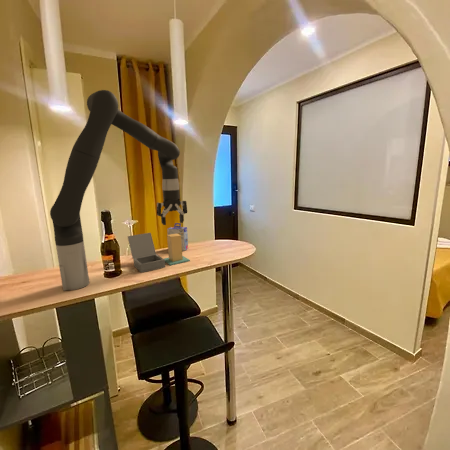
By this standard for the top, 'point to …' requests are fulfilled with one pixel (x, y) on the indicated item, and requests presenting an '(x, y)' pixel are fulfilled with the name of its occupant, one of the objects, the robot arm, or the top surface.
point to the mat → (176, 261)
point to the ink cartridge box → (182, 232)
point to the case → (149, 263)
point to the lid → (141, 245)
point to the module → (174, 247)
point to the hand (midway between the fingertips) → (173, 223)
